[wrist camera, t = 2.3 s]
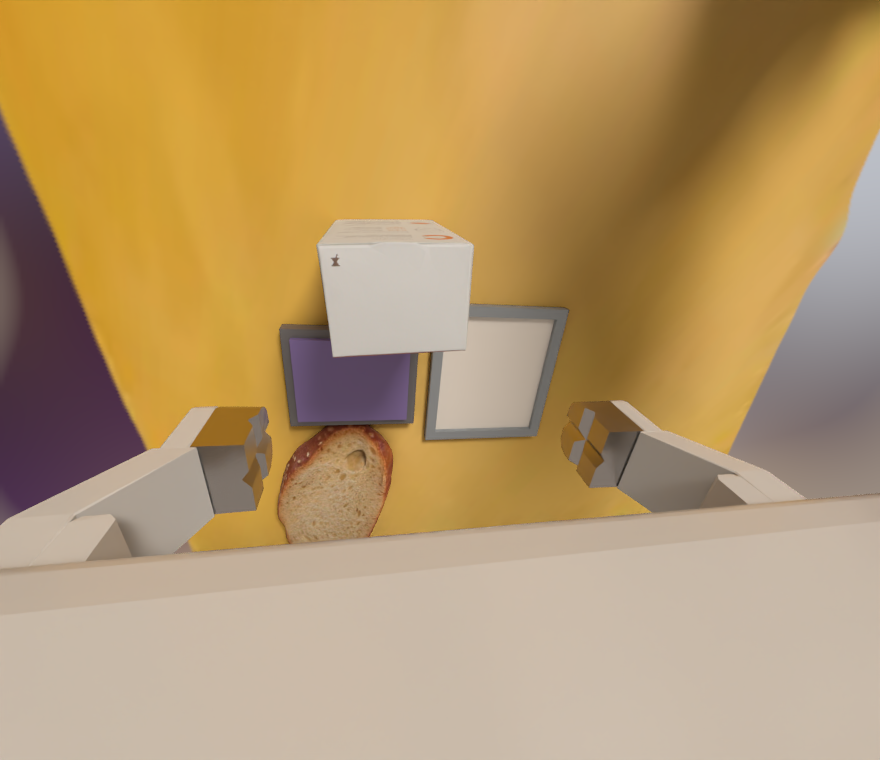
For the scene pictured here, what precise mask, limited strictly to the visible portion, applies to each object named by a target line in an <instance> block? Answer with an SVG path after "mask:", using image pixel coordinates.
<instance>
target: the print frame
mask: <svg viewBox="0 0 880 760" xmlns="http://www.w3.org/2000/svg"><path fill="white" fill-rule="evenodd" d="M568 313H569V310H568V309H567V308H562V307H537V306H513V305H488V304H470V306H469V319H468V332H467V346H466V350H465V351H463V350H461V351H445V352H432V353H431V365H430V376H429V388H428V399H427V411H426V423H425V434H424V436H425V440H437V439H467V438H496V437H526V436H537V432H538V428H539V425H540V421H541V417H542V413H543V409H544V405H545V401H546V398H547V394H548V390H549V386H550V382H551V378H552V374H553V371H554V367H555V363H556V359H557V355H558V351H559V347H560V344H561V340H562V336H563V332H564V328H565V324H566V320H567V317H568Z"/></svg>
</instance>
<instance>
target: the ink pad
mask: <svg viewBox="0 0 880 760" xmlns="http://www.w3.org/2000/svg"><path fill="white" fill-rule="evenodd" d="M279 330H280V339H281V347H282V356H283V364H284V373H285V381H286V390H287V398H288V407H289V415H290V424H291V426H321V425H362V424H402V423H413V421H414V407H415V392H416V377H417V362H418V353H409V354H391V355H374V356H356V357H339V358H334V357H333V354H332V346H331V339H330V332H329V325H295V324H282V325H281V327H280V329H279Z"/></svg>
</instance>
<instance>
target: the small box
mask: <svg viewBox="0 0 880 760" xmlns="http://www.w3.org/2000/svg"><path fill="white" fill-rule="evenodd" d="M316 246H317V252H318V258H319V264H320V271H321V277H322V284H323V290H324V297H325V304H326V311H327V318H328V325H329V332H330V339H331V346H332V354H333V357H334V358H339V357H356V356H374V355H391V354H409V353H426V352H445V351H461V350H463V351H465V350H466V346H467V332H468V319H469V306H470V292H471V279H472V266H473V253H474V245H473V244H472V243H470V242H468V241H467V240H465V239H463V238H462V237H460V236H458V235H457V234H455V233H453V232H451V231H450V230H448V229H446V228H444V227H443V226H441V225H439V224H438V223H436V222H434V221H433V220H385V219H350V220H335V222H334V223H333V224H332V226H331V227H330V228H329V230H328V231H327V232H326V233H325V235H324V236H323V237H322V239H321V240H320V241H319V242H318V244H317V245H316Z"/></svg>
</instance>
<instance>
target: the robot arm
mask: <svg viewBox="0 0 880 760" xmlns="http://www.w3.org/2000/svg"><path fill="white" fill-rule="evenodd" d="M567 416H568V418H569V420H570V422H569V423H568V424H567V425H566V426H565V427H564V428H563V431H562V435H561V446H562V450H563V452H564V454H565V456H566V457H567V459H568V460H569V461H571V462H573V463H575V464H576V465H577V470H576V471H577V472H578V474H579V475H580V476H581V478H582V479H583V480H584V482H585V483H586V484H587V486H588V487H589V488H595V487H617V488H618V489H619V490H621V491H622V492H624V493H625V494H627V495H628V496H630V497H631V498H632V499H634V500H635V501H637V502H638V503H640V504H641V505H643V506H644V507H645V508H647V509H648V510H650V511H651V512H653V513H643V514H632V515H620V516H608V517H597V518H585V519H573V520H561V521H550V522H538V523H527V524H516V525H504V526H493V527H481V528H469V529H458V530H446V531H434V532H423V533H411V534H399V535H388V536H376V537H364V538H353V539H341V540H329V541H318V542H306V543H294V544H283V545H271V546H259V547H248V548H236V549H224V550H213V551H201V552H189V553H179V554H173V553H174V552H176V551H177V550H178V549H179V548H180V547H181V546H182V545H183V544H184V543H185V542H187V541H188V540H189V539H190V538H191V537H192V536H193V535H194V534H195V533H197V532H198V531H199V530H200V529H201V528H202V527H203V526H204V525H205V524H206V523H208V522H209V521H210V520H211V519H212V518H213V517H214V514H221V513H232V512H243V511H253V510H257V507H258V504H259V501H260V498H261V495H262V492H263V489H264V487H263V481H262V479H264V478H265V477H266V476H268V474H269V471H270V468H271V462H272V440H271V437H270V436H269V435H268V434H267V433H266V432H265V431H266V428H267V426H268V423H269V420H268V415H267V410H266V409H265V407H217V406H212V407H194V408H191V409H190V411H189V412H188V413H187V414H186V416H185V417H184V418H183V419H182V421H181V422H180V423H179V425H178V426H177V427H176V428H175V430H174V431H173V432H172V433H171V435H170V436H169V437H168V438H167V440H166V441H165V442H164V443H163V445H162V446H161V447H160V448H158V449H150V450H148V451H146V452H144V453H142V454H140V455H138V456H136V457H134V458H132V459H130V460H128V461H125V462H123V463H121V464H119V465H117V466H115V467H113V468H111V469H109V470H107V471H105V472H103V473H101V474H99V475H97V476H95V477H93V478H91V479H89V480H87V481H85V482H82V483H80V484H78V485H76V486H74V487H72V488H70V489H68V490H66V491H64V492H62V493H60V494H58V495H56V496H54V497H52V498H50V499H48V500H45V501H44V502H41V503H39V504H37V505H35V506H33V507H31V508H29V509H27V510H25V511H23V512H21V513H19V514H17V515H15V516H13V517H11V518H9V519H7V520H6V521H5V522H4V523H3V524H2V525H1V526H0V760H880V493H875V494H864V495H853V496H841V497H829V498H818V499H806V498H804V497H803V496H802V495H800V494H799V493H797V492H796V491H795V490H793V489H792V488H790V487H789V486H788V485H786V484H785V483H783V482H782V481H781V480H779V479H778V478H776V477H775V476H774V475H772V474H771V473H769V472H768V471H766V470H764V469H761V468H758V467H756V466H754V465H751V464H749V463H746V462H744V461H741V460H739V459H736V458H734V457H731V456H729V455H726V454H724V453H721V452H719V451H716V450H714V449H711V448H709V447H706V446H704V445H701V444H699V443H696V442H694V441H691V440H689V439H686V438H684V437H681V436H679V435H676V434H674V433H671V432H669V431H662V430H661V429H659V428H658V427H657V426H656V425H655V424H653V423H652V422H651V421H650V420H648V419H647V418H646V417H645V416H644V415H642V414H641V413H640V412H639V411H637V410H636V409H635V408H634V407H633V406H631V405H630V404H629V403H628V402H626V401H623V400H614V401H594V402H574V403H572V405H571V406H570V408H569V411H568V414H567Z"/></svg>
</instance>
